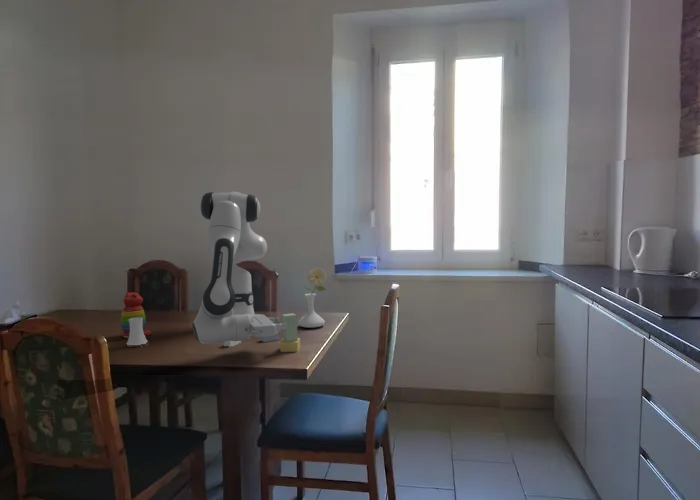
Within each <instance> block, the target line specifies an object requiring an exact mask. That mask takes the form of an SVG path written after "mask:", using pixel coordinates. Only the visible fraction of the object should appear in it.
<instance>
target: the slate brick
mask: <svg viewBox="0 0 700 500" xmlns="http://www.w3.org/2000/svg"><path fill="white" fill-rule="evenodd" d="M279 334H280V333H279V331H276V335H273V336H263V337H260V341H261V342H263V343H268V342H273V341H278V340H279V341H280V335H279Z"/></svg>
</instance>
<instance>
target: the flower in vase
mask: <svg viewBox="0 0 700 500" xmlns="http://www.w3.org/2000/svg"><path fill="white" fill-rule="evenodd" d="M327 278H328V274H326V272H325V270H324V269H323V268H320V267H315V268H312V269H311V270H309V272H308V275H307V279H308V282H309V283H310V285H313V286H314V288H313V290H312V289H311V288H308V287H306V286H305V285H304V286H303V287H304V288H305V289H306V290H307V291H310V292H311V293H305V294H304V296H305V298H306V301H307V304H308V305H307V312H306V313H305V314H304V315H303V316H302V317H301V318H299V320H297V326H300V327H302V328H308V329H309V328H310V329H314V328H318V327H321V326H324V325H325V323H326V321H325V319H323V317H321V315H318V313H316V312H315V308H314V302H315V297H316V296H317V293H314V292H315V290H317V292H323V291H325V290H326V288H325V287H324V286H323V284H324V283H326V282H327V281H326V280H327Z"/></svg>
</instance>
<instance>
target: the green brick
mask: <svg viewBox="0 0 700 500" xmlns="http://www.w3.org/2000/svg"><path fill="white" fill-rule="evenodd" d="M297 316H298V315H297V314H295V313H291V312H290V313H285V314H281V318H282V319H281V320H282V321H281V323H286V324H287V328H286V329H282V339H283V340H285V341H286V342H290V341H297V340H298V338H299V337H298V320H297Z"/></svg>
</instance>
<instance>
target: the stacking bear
mask: <svg viewBox="0 0 700 500" xmlns="http://www.w3.org/2000/svg"><path fill="white" fill-rule="evenodd" d="M143 301H144V299H143V297H142V296H141V295H140V294H139V293H137V292H129V291H128V292H126V294H125V295H124V297H123V303H124V306H125V307H123V308H122V311H121V316H120V325H121V326H120V327H121V329H122V335H123V336H129V334H130V324H129V319H131V318H143V321H142V326H143V332H144V335H148V334H151V333H152V331H151V330H148V329H145V328H146V323H147V321H146V319H147V316H146V313H145V310H144V308H143V306H142V304H143ZM122 335H121V336H122ZM151 335H152V334H151Z"/></svg>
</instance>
